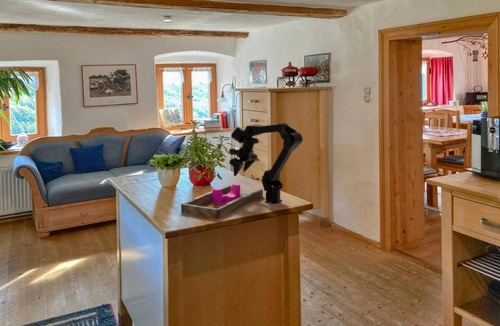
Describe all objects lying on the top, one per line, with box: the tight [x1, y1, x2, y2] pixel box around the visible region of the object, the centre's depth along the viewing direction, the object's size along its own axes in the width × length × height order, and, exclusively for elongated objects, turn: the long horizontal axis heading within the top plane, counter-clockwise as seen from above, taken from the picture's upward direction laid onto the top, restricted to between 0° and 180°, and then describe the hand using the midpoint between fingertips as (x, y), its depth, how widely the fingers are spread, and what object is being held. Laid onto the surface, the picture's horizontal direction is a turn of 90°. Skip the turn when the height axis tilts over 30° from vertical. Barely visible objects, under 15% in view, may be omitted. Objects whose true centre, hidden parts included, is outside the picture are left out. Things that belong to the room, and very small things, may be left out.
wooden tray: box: [180, 184, 264, 220], centre depth 223 cm, size 21×40×4 cm, turn 149°
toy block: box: [212, 183, 241, 206], centre depth 228 cm, size 15×6×8 cm, turn 132°
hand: (239, 173), depth 237 cm, fingers open, 9 cm apart
